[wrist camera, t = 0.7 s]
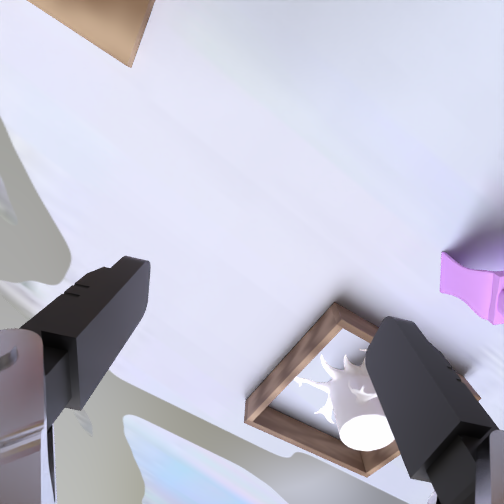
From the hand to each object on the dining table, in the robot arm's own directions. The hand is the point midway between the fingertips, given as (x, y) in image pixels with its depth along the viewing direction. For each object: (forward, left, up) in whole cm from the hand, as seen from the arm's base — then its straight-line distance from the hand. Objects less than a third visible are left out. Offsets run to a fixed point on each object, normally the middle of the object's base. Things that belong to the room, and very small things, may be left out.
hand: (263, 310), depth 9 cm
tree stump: (+21, +31, -27) cm, 46 cm away
